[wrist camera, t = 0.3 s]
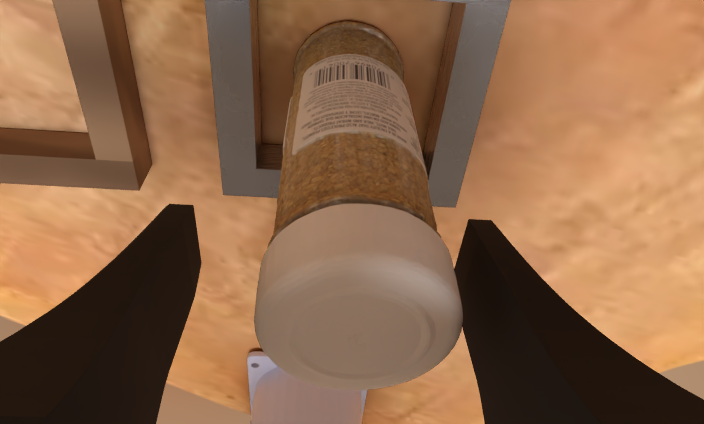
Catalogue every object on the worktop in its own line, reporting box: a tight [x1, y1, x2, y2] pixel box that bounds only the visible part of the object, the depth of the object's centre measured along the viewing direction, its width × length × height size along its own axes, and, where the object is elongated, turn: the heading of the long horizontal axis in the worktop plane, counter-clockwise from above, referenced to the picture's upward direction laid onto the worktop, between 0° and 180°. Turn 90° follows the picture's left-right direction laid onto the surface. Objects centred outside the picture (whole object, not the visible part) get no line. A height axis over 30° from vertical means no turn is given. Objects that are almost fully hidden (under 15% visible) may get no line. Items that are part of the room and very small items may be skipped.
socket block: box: [205, 0, 511, 208], centre depth 21 cm, size 10×10×2 cm
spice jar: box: [254, 21, 463, 390], centre depth 16 cm, size 5×5×13 cm
